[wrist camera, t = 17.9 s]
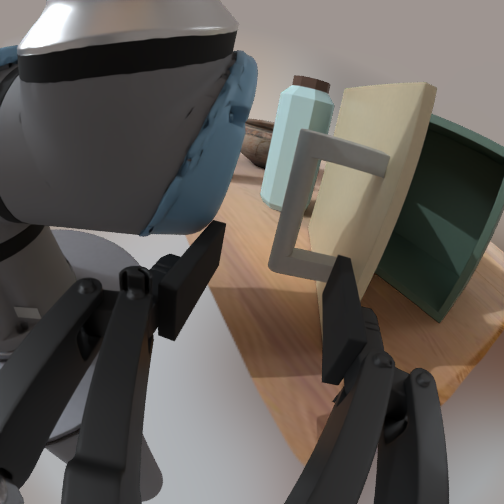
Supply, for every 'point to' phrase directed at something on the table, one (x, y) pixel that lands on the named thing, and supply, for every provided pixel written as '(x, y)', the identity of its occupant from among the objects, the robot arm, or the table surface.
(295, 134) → the water bottle
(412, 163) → the door
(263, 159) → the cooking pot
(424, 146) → the cupboard
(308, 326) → the table surface
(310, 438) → the table surface
